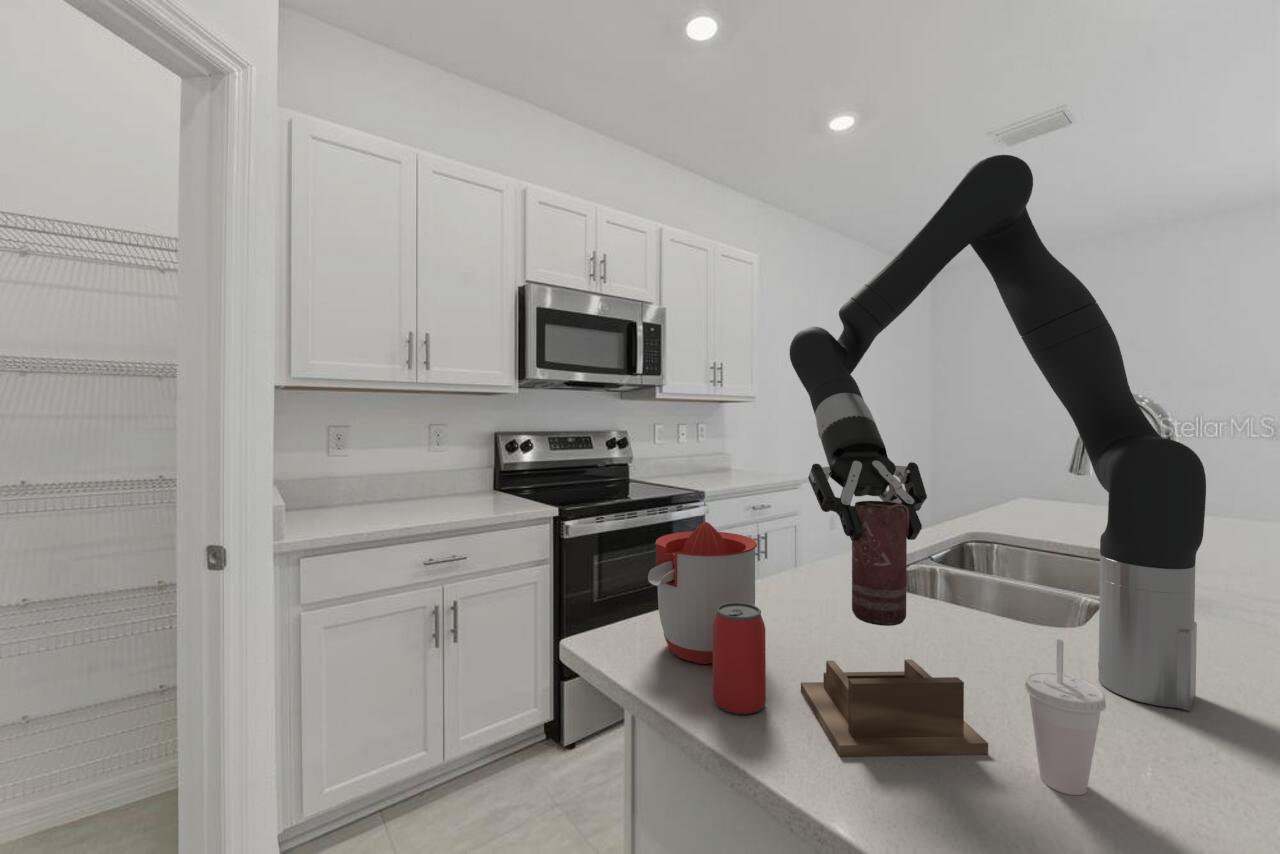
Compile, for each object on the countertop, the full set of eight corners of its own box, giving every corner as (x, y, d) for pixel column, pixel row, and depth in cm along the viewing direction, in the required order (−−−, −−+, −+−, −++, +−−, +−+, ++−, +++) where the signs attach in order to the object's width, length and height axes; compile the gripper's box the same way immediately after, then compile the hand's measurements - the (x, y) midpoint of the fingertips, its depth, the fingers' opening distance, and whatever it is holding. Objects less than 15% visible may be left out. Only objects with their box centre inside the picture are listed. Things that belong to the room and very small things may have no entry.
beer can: (702, 703, 71) (701, 609, 71) (733, 685, 76) (732, 597, 76) (745, 723, 67) (745, 623, 66) (775, 703, 71) (775, 609, 71)
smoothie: (1068, 761, 59) (1070, 629, 59) (1123, 804, 53) (1125, 656, 52) (1009, 763, 59) (1010, 630, 58) (1056, 806, 52) (1058, 657, 52)
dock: (800, 691, 74) (800, 637, 74) (921, 689, 74) (921, 635, 74) (839, 756, 60) (839, 690, 60) (988, 754, 60) (988, 687, 60)
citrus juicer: (629, 643, 90) (627, 519, 90) (718, 623, 98) (717, 509, 98) (679, 685, 76) (678, 538, 76) (779, 658, 84) (778, 525, 84)
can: (914, 628, 65) (915, 508, 65) (856, 624, 66) (856, 507, 66) (901, 610, 71) (902, 500, 71) (848, 607, 72) (848, 498, 72)
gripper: (801, 414, 75) (832, 519, 64) (909, 413, 76) (959, 518, 64) (791, 451, 81) (818, 554, 69) (891, 450, 81) (934, 552, 70)
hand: (885, 536), depth 67 cm, fingers closed on can, 6 cm apart
